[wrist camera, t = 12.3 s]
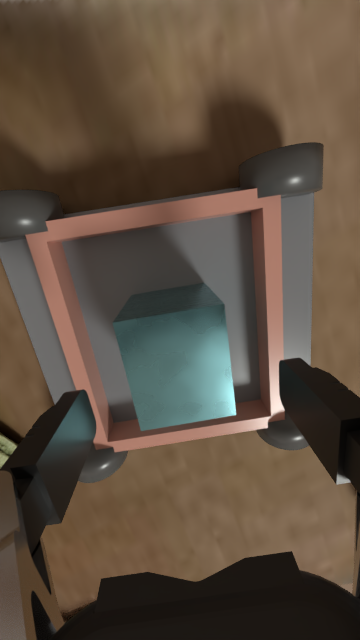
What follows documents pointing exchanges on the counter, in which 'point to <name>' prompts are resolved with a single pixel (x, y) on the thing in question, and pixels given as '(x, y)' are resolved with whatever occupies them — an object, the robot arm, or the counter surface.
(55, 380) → the chassis
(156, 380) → the teal glassy cube
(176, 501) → the counter surface
